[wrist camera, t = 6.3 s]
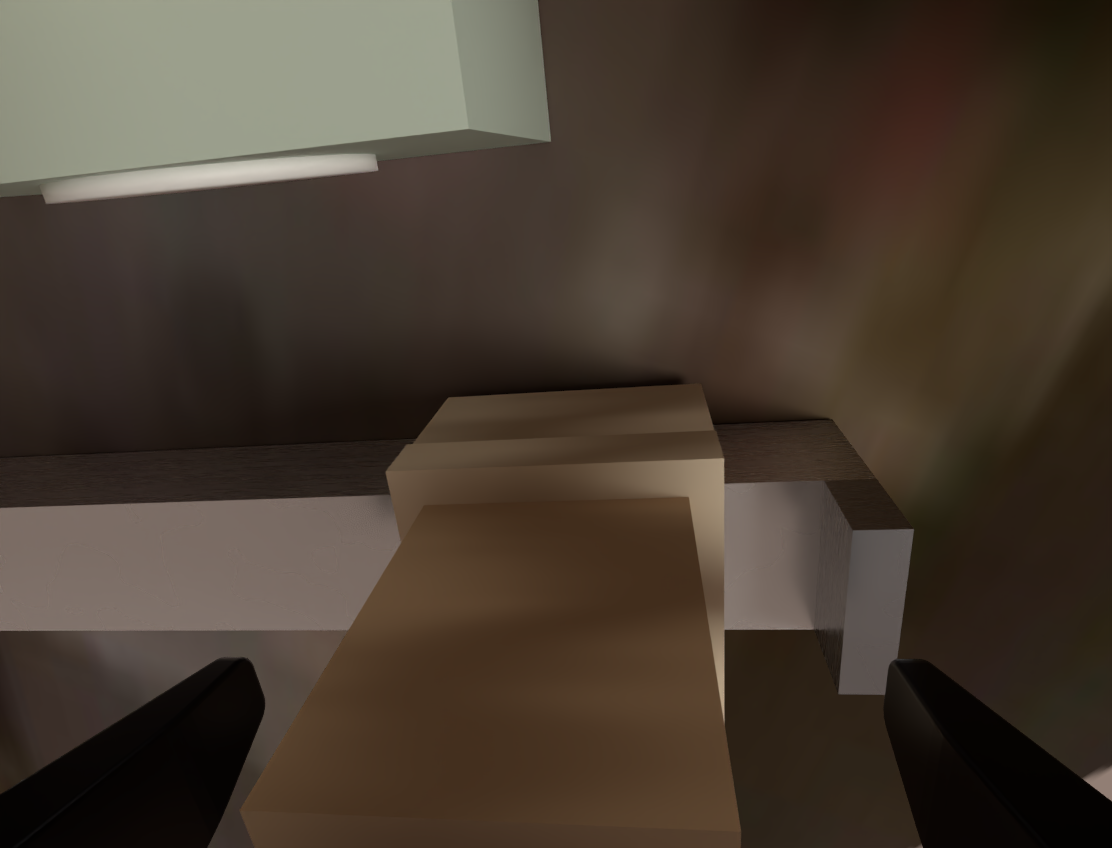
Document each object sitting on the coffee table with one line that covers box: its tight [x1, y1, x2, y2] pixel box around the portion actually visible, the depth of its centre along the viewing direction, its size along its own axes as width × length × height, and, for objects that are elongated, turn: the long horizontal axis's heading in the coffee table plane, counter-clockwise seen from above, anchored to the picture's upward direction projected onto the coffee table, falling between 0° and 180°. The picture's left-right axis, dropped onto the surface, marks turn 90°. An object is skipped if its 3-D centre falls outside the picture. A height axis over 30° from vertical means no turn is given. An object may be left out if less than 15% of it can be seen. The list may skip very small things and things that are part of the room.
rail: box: [0, 419, 914, 695], centre depth 13 cm, size 21×3×4 cm, turn 96°
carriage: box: [240, 383, 741, 848], centre depth 10 cm, size 5×5×8 cm
